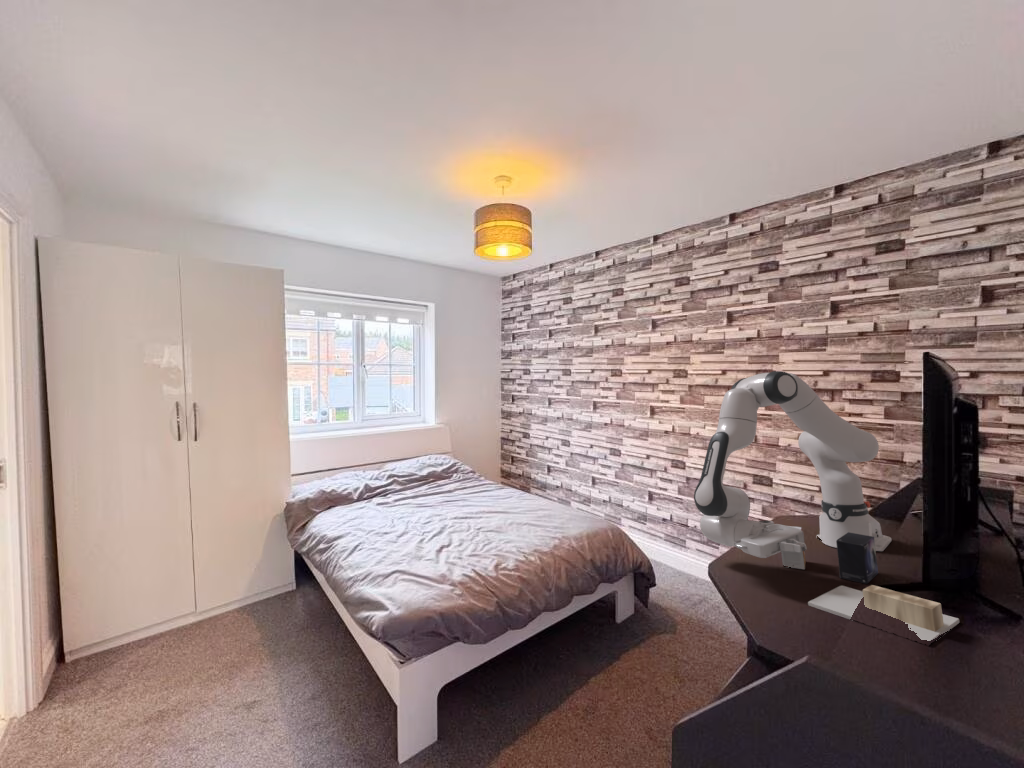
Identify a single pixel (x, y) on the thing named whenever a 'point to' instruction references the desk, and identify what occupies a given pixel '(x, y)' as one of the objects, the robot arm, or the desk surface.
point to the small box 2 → (857, 557)
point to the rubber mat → (848, 599)
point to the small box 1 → (794, 558)
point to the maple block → (904, 607)
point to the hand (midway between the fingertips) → (803, 548)
